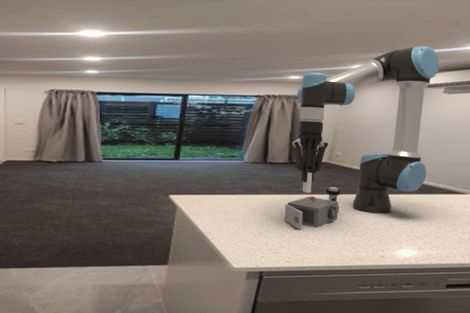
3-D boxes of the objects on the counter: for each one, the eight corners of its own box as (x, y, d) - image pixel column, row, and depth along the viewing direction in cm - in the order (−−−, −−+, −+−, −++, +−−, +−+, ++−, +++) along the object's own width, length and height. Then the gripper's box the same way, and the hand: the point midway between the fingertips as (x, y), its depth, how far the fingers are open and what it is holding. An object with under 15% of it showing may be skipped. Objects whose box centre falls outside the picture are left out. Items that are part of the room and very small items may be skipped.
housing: (308, 213, 156) (309, 194, 155) (340, 219, 147) (341, 200, 147) (286, 220, 143) (287, 200, 142) (320, 228, 135) (321, 207, 134)
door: (287, 219, 143) (287, 204, 142) (301, 228, 132) (302, 212, 131) (282, 219, 142) (283, 204, 142) (297, 229, 131) (298, 212, 131)
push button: (329, 215, 154) (331, 189, 153) (319, 212, 158) (321, 187, 157) (341, 213, 157) (343, 188, 156) (331, 210, 162) (333, 186, 161)
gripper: (321, 121, 137) (316, 189, 140) (288, 119, 132) (284, 190, 135) (334, 122, 130) (329, 193, 133) (300, 120, 126) (295, 194, 128)
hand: (306, 191), depth 134 cm, fingers closed
